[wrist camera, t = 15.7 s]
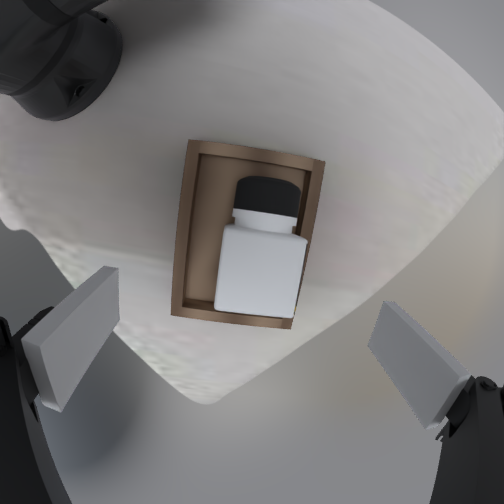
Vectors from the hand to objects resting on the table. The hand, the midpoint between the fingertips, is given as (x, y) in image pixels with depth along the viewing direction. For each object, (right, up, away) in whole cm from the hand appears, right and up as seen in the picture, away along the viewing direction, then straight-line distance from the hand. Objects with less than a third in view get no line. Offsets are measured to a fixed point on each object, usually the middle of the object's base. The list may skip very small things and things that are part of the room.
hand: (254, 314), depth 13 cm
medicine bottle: (0, -2, +15) cm, 15 cm away
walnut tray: (-1, +5, +18) cm, 19 cm away
